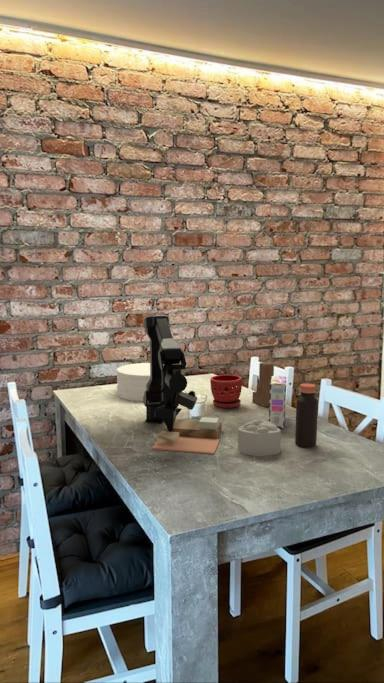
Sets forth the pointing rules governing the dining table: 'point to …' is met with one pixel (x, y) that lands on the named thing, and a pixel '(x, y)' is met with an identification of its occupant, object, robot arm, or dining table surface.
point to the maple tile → (168, 438)
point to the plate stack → (133, 381)
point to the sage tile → (209, 423)
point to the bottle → (306, 417)
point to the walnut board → (194, 429)
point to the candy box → (277, 401)
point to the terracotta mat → (191, 445)
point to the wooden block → (264, 384)
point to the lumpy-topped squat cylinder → (259, 438)
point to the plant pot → (226, 390)
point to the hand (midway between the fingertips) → (170, 431)
